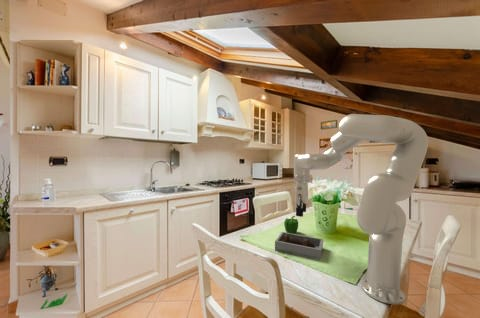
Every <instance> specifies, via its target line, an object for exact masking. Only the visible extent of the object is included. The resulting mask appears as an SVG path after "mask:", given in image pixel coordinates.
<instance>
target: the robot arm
mask: <svg viewBox="0 0 480 318" xmlns="http://www.w3.org/2000/svg"><path fill="white" fill-rule="evenodd" d="M364 141H367V142H374V143H381V144H394V145H395V148H394V150H393V152H392V154H391V155H390V157H389V160H388V164H387V166H386V169H385V171H384V172H380V173H379V172H378V173H376V174H374V175H373V176H371V177H370V178H369V179H368V180H367V182H366V184H365V186H364V189H363V192H362V195H361V199H360V201H359V204H358V208H357V211H356V222H357V225H358V227H359V228H360V229H361V231H363V232H364V233H366V234H368V235H369V238H368V251H367V252H368V254H367V256H368V257H367V272H366V273H367V275H366V276H367V278H366V279H363V281H361V282H362V283H361V288H362V290H363V292H364V293H365V294H366V295H367V296H369V297H371V298H372V299H374V300H376V301H378V302H380V303H384V304H388V305H401V304H402V305H403V303H405V302H406V295H405V293H404V291H403V290H401V274H402V273H401V271H402V255H403V254H402V253H403V241H404V234H405V229H406V225H407V224H406V223H407V216H406V213H405V211H404V209H403V208H402V207H401V206H400V205H398V204H397V203H398V202H399V203H400V202H402V201H406V200H407V199H409V198H410V197H411V195H413V191H414V188H415V186H416V183H417V180H418V178H419V174H420V172H421V169H422V165H423V163H424V160H425V157H426V154H427V151H428V146H429V138H428V135H427V133H426V131H425V130H424V128H423V127H421V126H420V125H419V124H418V123H416V122H414V121H412V120H410V119H407V118H403V117H396V116H392V115H385V114H383V115H382V114H359V113H358V114H357V113H351V114H347V115H345V116H344V117H343V118H342V119H341V120H340V122H339V124H338V132H337V133H335V134H334V135H332V136H331V137H330V141H329V142H330V145H331V148H329V149H328V150H326V151H325V152H323V153H298V154H294V157H293V182H294V183H295V196H294V197H295V204H296V207H295V217H300V218H301V217H304V213H306V212H307V203H308V201H309V183H310V182H311V181H310V180H311V176H310V175H311V174H310V173H311V171H317V170H321V171H322V170H326V169H329V168H331V167H333V166H335V165H336V164H337V163H339V162H341V160H342V159H343V158H344V156H345V155H346V153H347V152H349V151H351V150H352V149H353V148H356V146H358V145H359V144H361V143H363V142H364Z"/></svg>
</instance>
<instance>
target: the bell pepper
mask: <svg viewBox="0 0 480 318" xmlns="http://www.w3.org/2000/svg"><path fill="white" fill-rule="evenodd" d="M283 222H284V229H285V232H286V233H291V234H296V233H297V232H298V228H299V221H298V219H297V218H296V215H292V216H291V218H285V220H284V221H283Z"/></svg>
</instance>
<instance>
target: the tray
mask: <svg viewBox="0 0 480 318" xmlns="http://www.w3.org/2000/svg"><path fill="white" fill-rule="evenodd" d="M286 233H287V232H286V231H285V232H284V231H282V232H280V234H279V235H278V237H277V238H276V239H275V240H274V251H277V252H281V253H285V254H291V255H296V256H300V257H303V258H308V259H309V258H310V259H314V260H319V261H321V259H322V254H323V253H322V252H323V249H324V238H319V237H314V236H307V235H303V234H291V233H287V234H288V235H289V237H292V238H296V239H297V238H298V239H302V240H304V239H305V238H306V239H308V241H310V242H311V241H312V242H315V243H316V245H315V248H312V247H307V246H302V245H296V244H291V243H286V242H283V240H284V235H285V234H286Z"/></svg>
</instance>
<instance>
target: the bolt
mask: <svg viewBox="0 0 480 318" xmlns="http://www.w3.org/2000/svg"><path fill="white" fill-rule="evenodd" d="M283 242H286V243H291V244H296V245H302V246H307V247H312V248H315V245H316V243H315V242H312V241H311V242H310V241H308V239H306V238H305V239H304V240H302V239H298V238H297V239H296V238H292V237H289V235H288V234H287V232H286V234H285V235H284V240H283Z"/></svg>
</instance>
